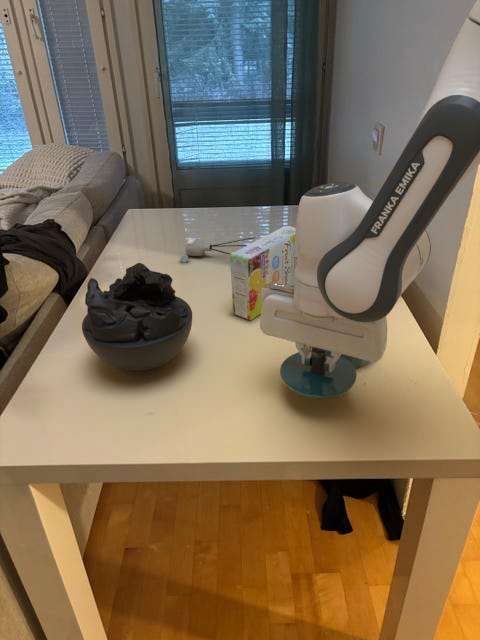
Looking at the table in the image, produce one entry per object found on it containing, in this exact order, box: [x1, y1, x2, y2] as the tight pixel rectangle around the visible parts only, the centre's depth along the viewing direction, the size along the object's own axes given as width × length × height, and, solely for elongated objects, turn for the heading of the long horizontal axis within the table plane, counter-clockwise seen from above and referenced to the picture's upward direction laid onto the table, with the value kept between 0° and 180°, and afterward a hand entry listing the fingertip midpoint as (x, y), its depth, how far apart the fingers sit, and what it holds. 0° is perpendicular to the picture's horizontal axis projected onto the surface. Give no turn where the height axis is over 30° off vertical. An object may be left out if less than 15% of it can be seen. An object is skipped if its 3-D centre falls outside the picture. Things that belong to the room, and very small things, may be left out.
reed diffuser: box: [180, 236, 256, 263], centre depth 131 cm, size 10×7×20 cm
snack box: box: [229, 225, 297, 321], centre depth 107 cm, size 21×6×15 cm, turn 141°
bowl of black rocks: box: [81, 262, 193, 372], centre depth 86 cm, size 20×20×19 cm
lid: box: [279, 347, 358, 399], centre depth 77 cm, size 13×13×6 cm
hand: (318, 366), depth 77 cm, fingers closed on lid, 2 cm apart
